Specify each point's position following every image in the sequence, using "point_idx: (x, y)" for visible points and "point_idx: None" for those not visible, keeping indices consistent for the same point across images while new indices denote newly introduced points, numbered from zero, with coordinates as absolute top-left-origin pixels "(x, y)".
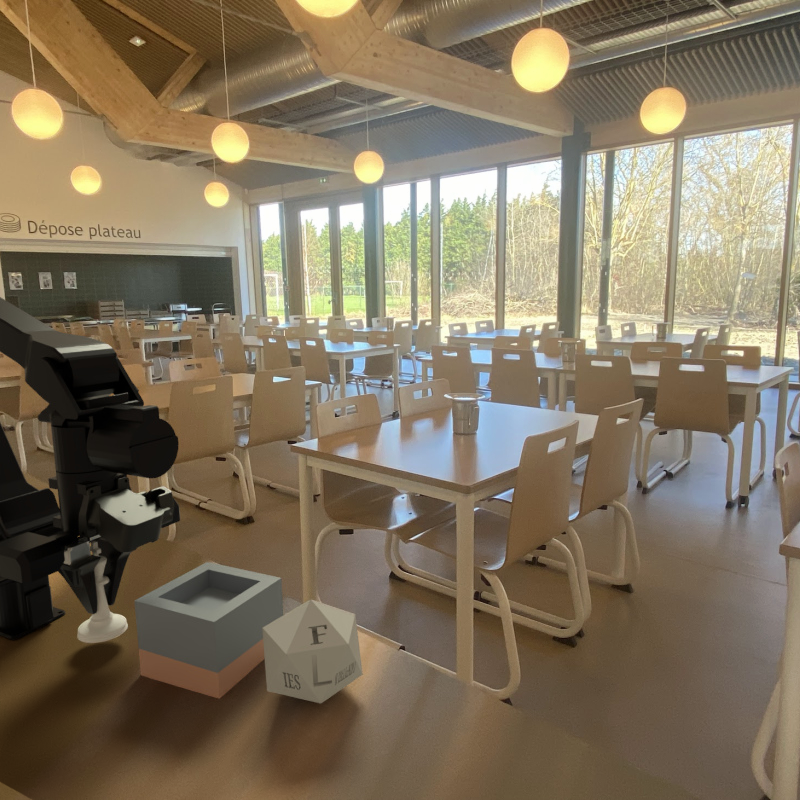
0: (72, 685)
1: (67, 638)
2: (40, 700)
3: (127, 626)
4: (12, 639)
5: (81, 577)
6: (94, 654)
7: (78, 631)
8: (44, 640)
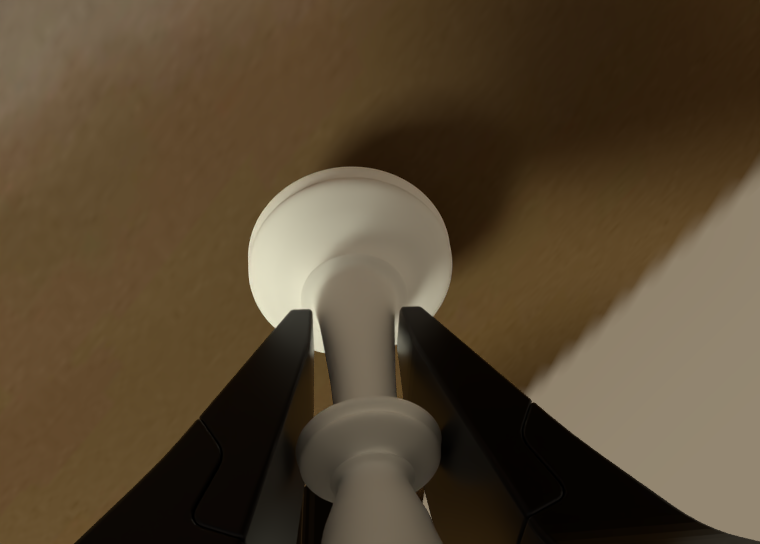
0: (597, 106)
1: None
2: (693, 130)
3: (277, 196)
4: None
5: (665, 502)
6: None
7: (436, 311)
8: None
